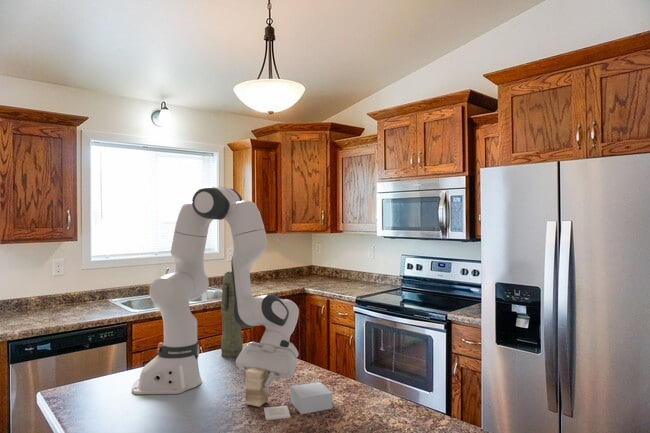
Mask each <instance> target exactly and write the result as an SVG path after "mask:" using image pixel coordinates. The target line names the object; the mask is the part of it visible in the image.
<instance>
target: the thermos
mask: <svg viewBox="0 0 650 433" xmlns="http://www.w3.org/2000/svg"><path fill="white" fill-rule="evenodd" d="M221 291H222V293H221V295H222V299H221V302H220V303H221V304H220V308H221V311H220V313H221V316H222V317H221V319H222V333H221V334H222V336H221V340H220V350H221V357H222V358H224V359H235V358H236V359H237V357H238V356H239V354H240V352H241V351H242V349H243V348H244V345H243V344H244V343H243V341H244V340H243V336H242V326H240V325H239V324H238V323H237V321H236V320H235V317H234V288H233V278H232V271H226V272H224V275H223V278H222V290H221Z"/></svg>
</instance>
